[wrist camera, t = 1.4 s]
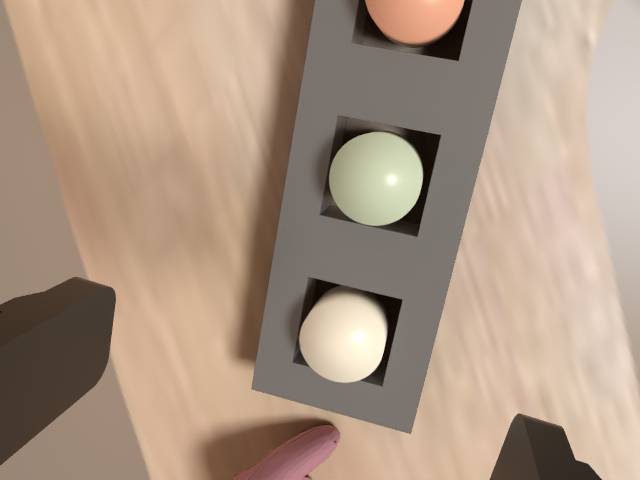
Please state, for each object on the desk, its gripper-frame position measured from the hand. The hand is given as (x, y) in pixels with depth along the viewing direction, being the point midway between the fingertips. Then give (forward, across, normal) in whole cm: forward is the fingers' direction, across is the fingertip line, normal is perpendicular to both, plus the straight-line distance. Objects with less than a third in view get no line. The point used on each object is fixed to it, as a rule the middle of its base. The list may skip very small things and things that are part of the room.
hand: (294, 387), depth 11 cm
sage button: (+14, 0, -2) cm, 14 cm away
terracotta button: (+15, +1, -9) cm, 17 cm away
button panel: (+16, 0, -2) cm, 16 cm away
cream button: (+14, 0, +5) cm, 15 cm away
